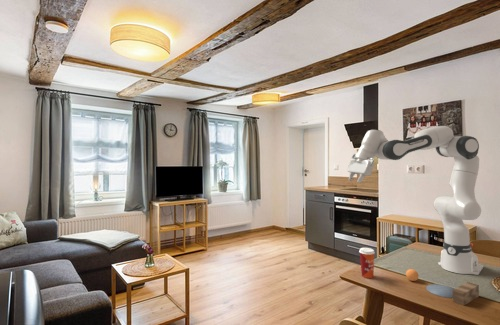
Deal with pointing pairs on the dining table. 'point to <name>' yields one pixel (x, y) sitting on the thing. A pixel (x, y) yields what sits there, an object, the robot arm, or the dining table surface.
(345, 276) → the dining table surface
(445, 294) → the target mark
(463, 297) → the block
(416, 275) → the ball
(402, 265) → the dining table surface
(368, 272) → the paper cup
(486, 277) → the dining table surface
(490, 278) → the dining table surface
